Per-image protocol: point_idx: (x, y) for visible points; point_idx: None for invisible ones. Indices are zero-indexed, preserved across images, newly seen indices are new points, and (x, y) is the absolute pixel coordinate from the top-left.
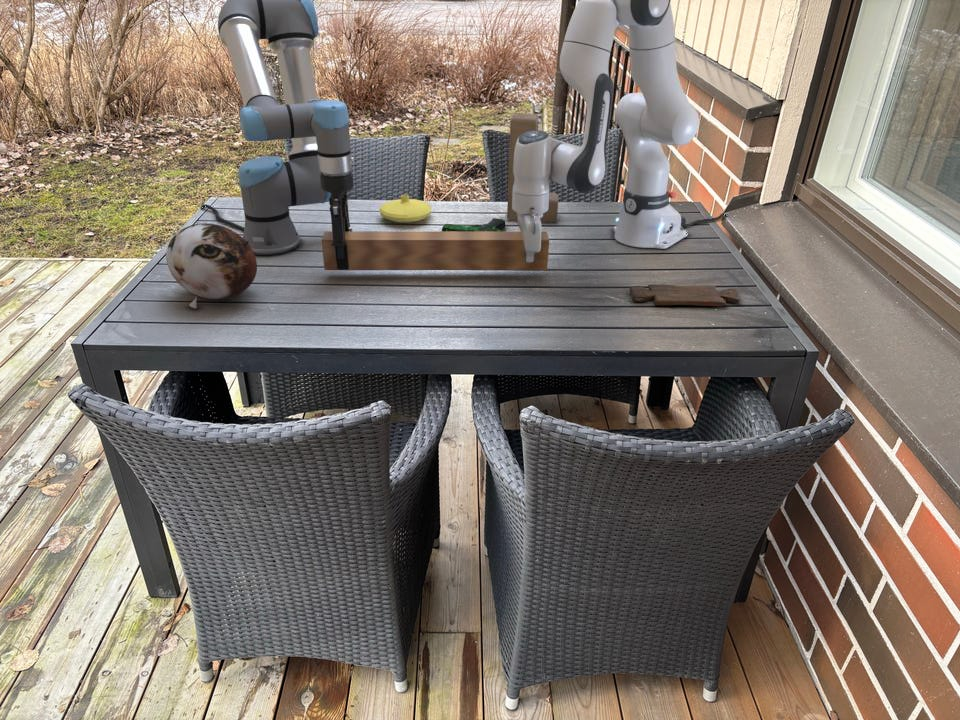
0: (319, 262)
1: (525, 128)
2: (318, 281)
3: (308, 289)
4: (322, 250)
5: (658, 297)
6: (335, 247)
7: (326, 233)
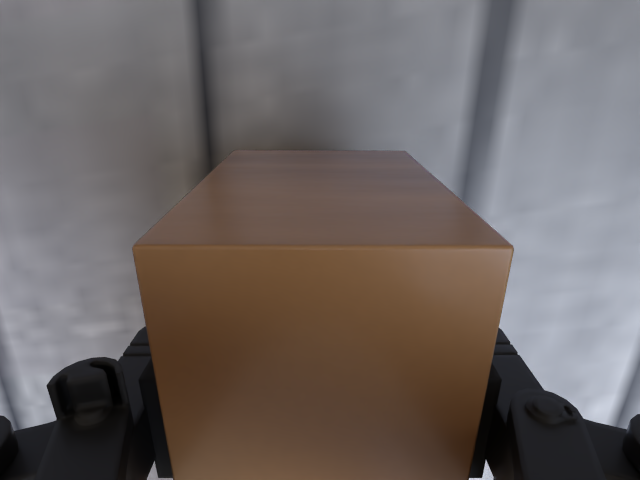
0: (577, 44)
1: None
2: (253, 87)
3: (121, 35)
4: (188, 195)
5: None
6: (148, 363)
7: (413, 286)
